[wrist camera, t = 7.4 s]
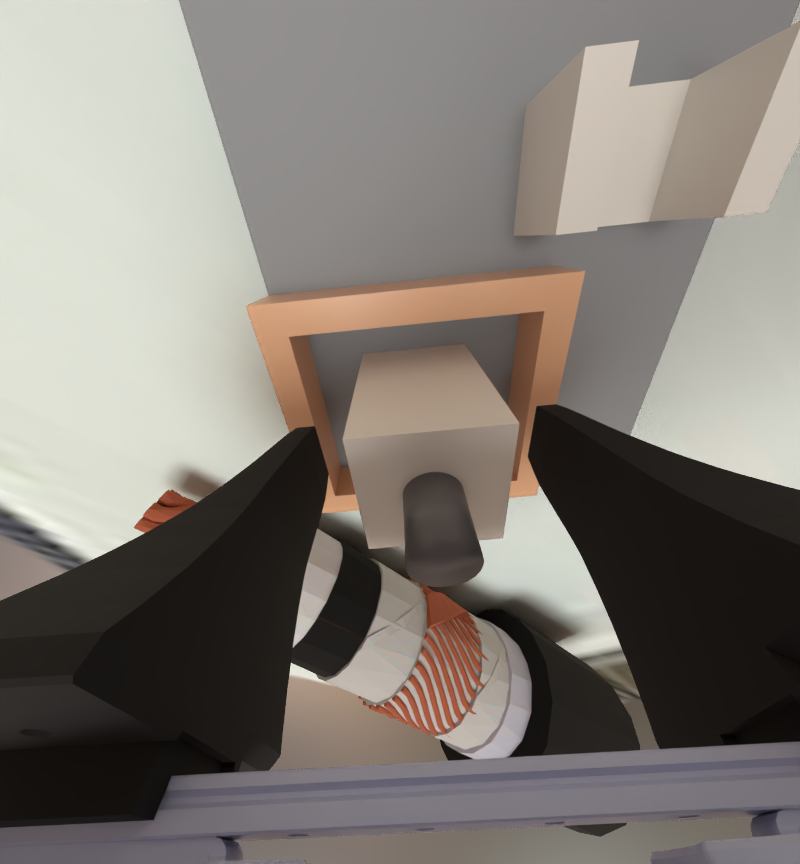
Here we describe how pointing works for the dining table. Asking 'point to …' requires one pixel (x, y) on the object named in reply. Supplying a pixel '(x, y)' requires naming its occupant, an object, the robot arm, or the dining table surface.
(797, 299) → the dining table surface
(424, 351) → the connector
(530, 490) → the frame
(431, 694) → the cable
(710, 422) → the dining table surface
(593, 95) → the clip
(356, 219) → the board
